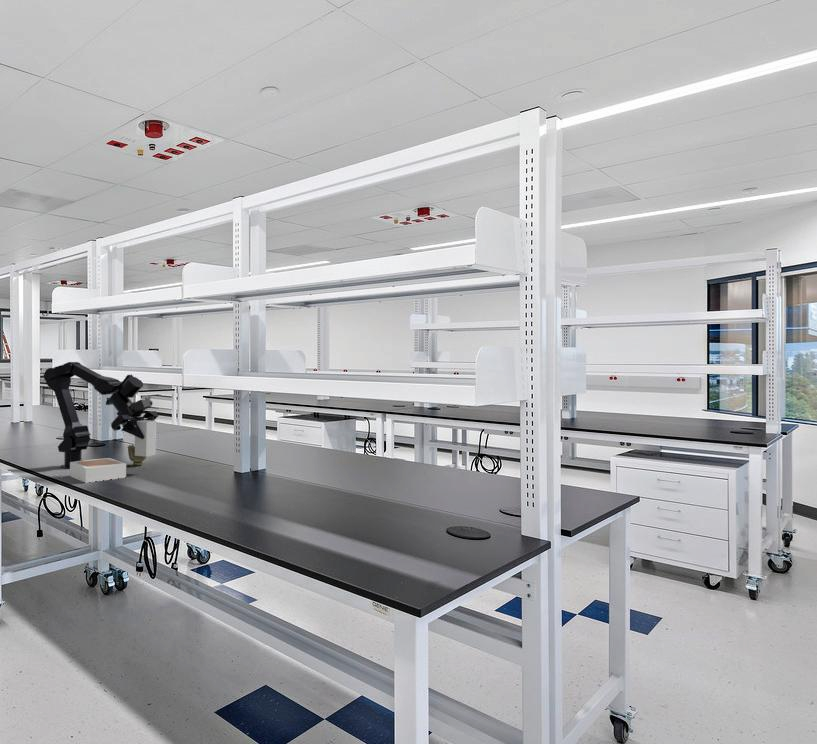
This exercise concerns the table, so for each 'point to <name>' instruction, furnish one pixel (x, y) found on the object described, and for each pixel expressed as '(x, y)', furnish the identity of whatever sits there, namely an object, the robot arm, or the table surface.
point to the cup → (136, 459)
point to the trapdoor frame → (97, 471)
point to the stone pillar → (146, 438)
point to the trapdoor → (97, 463)
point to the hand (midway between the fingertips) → (148, 437)
